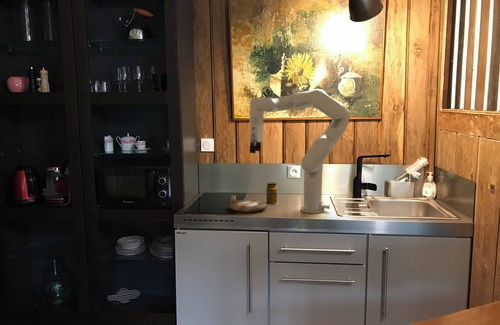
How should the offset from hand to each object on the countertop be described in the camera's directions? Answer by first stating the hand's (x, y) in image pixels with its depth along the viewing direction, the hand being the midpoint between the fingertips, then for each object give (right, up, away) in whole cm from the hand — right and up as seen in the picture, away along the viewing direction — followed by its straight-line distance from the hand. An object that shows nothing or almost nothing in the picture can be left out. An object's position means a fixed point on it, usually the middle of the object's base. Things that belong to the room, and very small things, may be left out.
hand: (255, 151), depth 230 cm
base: (-4, -31, -2) cm, 32 cm away
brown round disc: (-4, -30, -2) cm, 30 cm away
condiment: (+9, -30, +12) cm, 33 cm away
